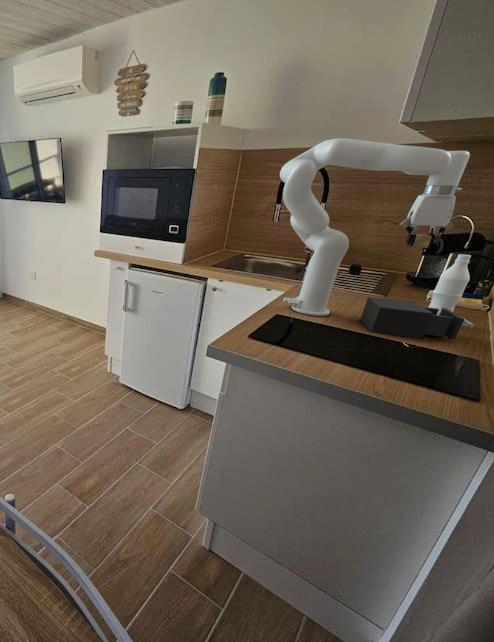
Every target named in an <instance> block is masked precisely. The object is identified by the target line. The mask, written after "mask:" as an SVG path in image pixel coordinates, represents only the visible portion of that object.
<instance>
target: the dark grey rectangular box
mask: <svg viewBox="0 0 494 642" xmlns="http://www.w3.org/2000/svg"><path fill="white" fill-rule="evenodd" d="M424 307H425V306H423V305H421V304H420V303H418V302H417V301H408V300H399V299H389V298H382V297H381V298H380V297H373V296H372V297H371V296H368V297H367V299H366V302H365V305H364V308H363V311H362V314H361V316H360V320H359V321H360V322H361V323H362V324H363V325H364V326H365V327H366V328H367V329H368V330H369V332H371V333H376V334H384V335H385V334H386V335H393V336H401V337H407V338H414V339H423V336H424V335H425V334H424V332H425V330H426V328H427V326H428V323H429V321H430V319H431V317H432V314H433V313H432V312H430V311H429V310H427V309H426V308H424Z"/></svg>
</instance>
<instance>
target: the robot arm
mask: <svg viewBox="0 0 494 642" xmlns="http://www.w3.org/2000/svg"><path fill="white" fill-rule="evenodd" d="M470 157H471V153H470V152H469V151H468V150H445V149H442V148H434V147H425V146H416V145H406V144H398V143H397V144H396V143H389V142H377V141H368V140H362V139H353V138H346V137H345V138H344V137H339V138H332V139H327V140H324V141H322V142H320V143H318V144H316V145H315V146H313V147H311V148H310V149H308V150H306V151H304V152H303V153H301V154H299V155H297V156H296V157H293V158H292V159H290V160H289V161H287V162H286V163H285V164H283V166H282V167H281V169H280V172H279V178H280V180H281V182H282V183H284V186H283V192H282V199H283V200H282V201H283V203H284V205H285V207H286V209H287V211H289V213H290V226H291V227H292V229H293V231H294V232H295V233H296V235H297V236H298V237H299V239H300V240H301V241H302V243H304V245H305V246H306V247H307V248H308V249H309V250H311V251H312V252H313V254H312V256H311V258H310V260H309V261H308V264H307V268H306V271H305V274H304V278H303V281H302V285H301V289H300V291H299V296H298V295H297V296H296V297H293V298H290V297H284V298H283V303H287V304H288V305H291V307H290V308H291V309H292V310H293V311H295V312H297V313H300V314H304V315H308V316H315V317H325V316H329V315H330V312H331V311H330V309H329V308H327V306H328V303H329V300H330V297H331V294H332V290H333V287H334V285H335V282H336V278H337V274H338V271H339V269H340V266H341V263H342V261H343V259H344V257H345V256H346V253H347V252H348V249H349V246H350V239H349V237H348V236H347V234H345V233H344V232H342V231H340V230H338V229H334V228H331V227H329V225H330V216H329V214H328V212H327V211H326V210H325V208H324V207H323V206H322V205H321V204H320V202H319V201H318V199H317V198H316V196H315V194H314V193H313V190H312V184H313V183H314V180H315V177H316V176H317V172H318V171H319V170H321V169H323V168H324V167H326V166H334V167H343V168H350V169H358V170H364V171H373V172H382V171H383V172H387V171H388V172H389V171H390V172H403V173H404V174H406V175H410V176H428V178H427V182H426V184H425V187H424V189H423V191H422V194H419V195H418V196H417V197H416V199H415V201H414V202H413V204H412V205H411V208H410V210H409V212H408V214H407V216H406V218H405V219H404V220H402V221H401V222H400V223H399V226H400V227H402V228H403V229H404V230H405V231H406V232H407V234H408V235H407V238H406V240H405V243H406V246H408V247H412V246H413V244H414V241H415V238H416V235H415V234H417V232H418V230H419V229H420V227H430V229H429V233H428V234H427V235H430V236H432V238H431V240H430V243H429V245H428V248H430V247H431V245H433V244H434V241H435V239H436V237H437V236H439V234H441V233H443V232H445V231H447V230H450V229H452V228H454V224H453V222H452V219H451V218H452V216H453V212H454V209H455V205H456V193H461V192H462V187H459V184H460V181H461V180H462V179H461V178H462V176H463V175H464V171H465V169H466V167H467V165H468V162H469V159H470Z"/></svg>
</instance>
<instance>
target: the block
mask: <svg viewBox="0 0 494 642" xmlns="http://www.w3.org/2000/svg"><path fill="white" fill-rule="evenodd" d="M415 235H416V238H415V241H414V244H413V246H411V247H412V248H424V249H427V248H429V247H428V245H429V243H430V240H431V238H432V236H430V235H428V234H422V233H416V234H415Z"/></svg>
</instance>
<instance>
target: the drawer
mask: <svg viewBox="0 0 494 642" xmlns="http://www.w3.org/2000/svg"><path fill="white" fill-rule="evenodd" d="M423 307H424V308H426V309H427V310H429V311H430V312H432V313H433V314H432V317H431V319H430V321H429V323H428V326H427V328H426V330H425V332H424V335H427V336H433V337H434V336H435V337H441V338H442V337H446V338H448V339H449V340H456V338H457V336H458V334H459V332H460V329H462V328H461V327H462V326H463V327H464V326H465V327H468V328H469V329H473V328H474V327H475V324H474V323H472V322H471V321H469V320H467V319H465V318H464V317H462V316H460V315H458V314H457V313H456V312H454V311H453V312H452V311H450V310H449V309H447V308H442V310H441V312H440V314H439V315H437V313H438V311H439V309H438V308H429V306H423Z"/></svg>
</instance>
